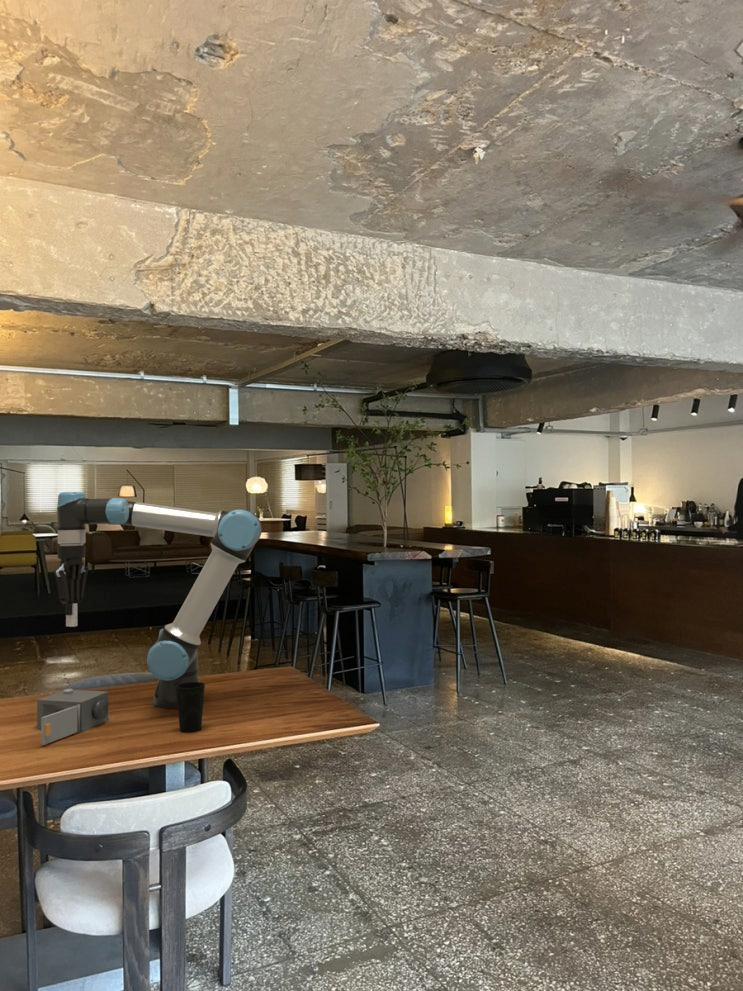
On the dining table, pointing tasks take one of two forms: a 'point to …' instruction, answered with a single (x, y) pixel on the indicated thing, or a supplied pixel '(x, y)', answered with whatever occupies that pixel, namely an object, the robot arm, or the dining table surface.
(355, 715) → the dining table surface
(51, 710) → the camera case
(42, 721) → the side door
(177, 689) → the cup
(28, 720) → the dining table surface
